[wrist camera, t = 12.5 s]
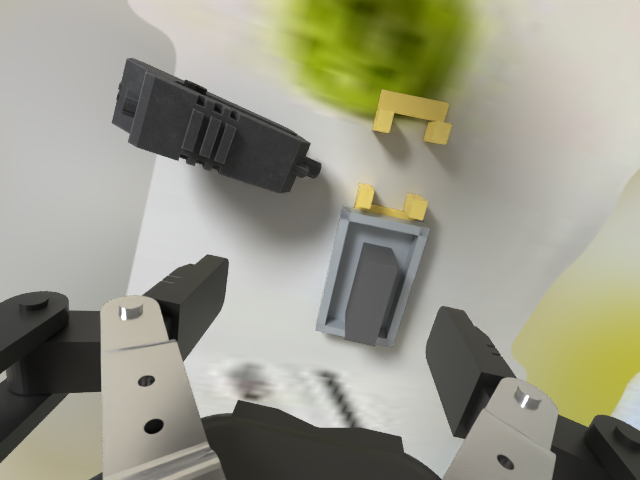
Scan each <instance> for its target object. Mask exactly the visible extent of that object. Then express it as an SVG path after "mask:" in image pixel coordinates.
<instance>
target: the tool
mask: <svg viewBox="0 0 640 480" xmlns="http://www.w3.org/2000/svg"><path fill="white" fill-rule="evenodd" d="M118 89H119V92H118V95H117V103H116V107H115V112H114V116H113V120H112V123H113V124H114V125H116V126H117V127H119V128H121V129H123V130H124V131H126V132H128V133H129V134H130V136H129V140H128V142H129V143H130V144H132V145H134V146H135V147H138V148H141V149H144V150H147V151H150V152H153V153H156V154H159V155H162V156H165V157H168V158H171V159H174V160H177V161H178V160H179V157H180V158H183V159H186V163H187V164H190V165H193V166H195V163H199V164H202V165H203V168H204V169H205V170H208V171H211V169H212V168H214V169H217V170H218V173H219V174H221V175H224V176H227V177H230V178H233V179H236V180H239V181H243V182H246V183H249V184H252V185H255V186H258V187H261V188H264V189H268V190H271V191H274V192H277V193H285V192H290V190H291V187H292V185H293V183H294V181H295V178H296V176H299V177H301V178H304V177H306V176H308V177H311V178H313V179H314V178H316V177H317V176H318V175H319V173H320V170H321V163H319V162H317V161H314V160H312V159H310V158H308V157H306V153H307V151H308V149H309V146H310V144H311V143H309V142H308V141H306V140H305V139H303V138H302V137H301V136H298V135H297V134H296V133H295V132H293V131H292V130H290V129H288V128H286V127H284V126H282V125H280V124H277V123H275V122H273V121H271V120H269V119H266V118H264V117H262V116H260V115H258V114H255V113H253V112H251V111H249V110H247V109H245V108H242V107H240V106H238V105H236V104H234V103H231V102H229V101H227V100H225V99H223V98H221V97H218V96H216V95H214V94H212V93H210V92H207V89H205V88H203V87H201V86H199V85H197V84H195V83H193V82H190V81H188V80H185V81H183V80H181V79H179V78H177V77H175V76H172V75H170V74H168V73H166V72H164V71H161V70H159V69H157V68H155V67H153V66H150V65H148V64H146V63H144V62H141V61H139V60H136V59H133V58H129V59H127V60H126V65H125V69H124V73H123V77H122V81H121V83H120V84H119V88H118Z"/></svg>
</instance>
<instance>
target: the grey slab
mask: <svg viewBox="0 0 640 480" xmlns="http://www.w3.org/2000/svg"><path fill="white" fill-rule="evenodd" d="M398 268H399V266H398V264H397V261H396V258H395V256H394V253H393V250H392V248H388V247H384V246H379V245H375V244H370V243H366V242H363V246H362V250H361V254H360V258H359V262H358V265H357V269H356V273H355V277H354V281H353V285H352V288H351V292H350V296H349V300H348V304H347V308H346V312H345V340H350V341H354V342H358V343H363V344H367V345H372V346H375V344H376V340H377V337H378V334H379V331H380V327H381V324H382V321H383V317H384V314H385V311H386V308H387V304H388V301H389V298H390V294H391V291H392V288H393V285H394V281H395V278H396V275H397V271H398Z"/></svg>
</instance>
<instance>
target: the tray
mask: <svg viewBox="0 0 640 480" xmlns="http://www.w3.org/2000/svg"><path fill="white" fill-rule="evenodd" d="M429 231H430V228H429V227H428V226H427V225H426V224H425V223H424V222H420V221H415V220H414V221H410V220H406V219H401V218H396V217H392V216H387V215H382V214H378V213H373V212H368V211H363V210H359V209H354V207H350V206H345V205H343V207H342V211H341V216H340V220H339V225H338V229H337V234H336V238H335V243H334V247H333V251H332V256H331V260H330V265H329V269H328V274H327V278H326V283H325V287H324V292H323V296H322V300H321V305H320V309H319V314H318V318H317V324H316V330H315V331H320V332H324V333H329V334H333V335H338V336H343V337H345V312H346V308H347V304H348V300H349V296H350V292H351V288H352V285H353V281H354V277H355V273H356V269H357V265H358V262H359V258H360V254H361V250H362V246H363V242H366V243H370V244H375V245H379V246H384V247H388V248H392V250H393V253H394V256H395V258H396V261H397V264H398V266H399V268H398V271H397V275H396V278H395V281H394V285H393V288H392V291H391V294H390V298H389V301H388V304H387V308H386V311H385V314H384V317H383V321H382V324H381V327H380V331H379V334H378V337H377V340H376V344H379V345H383V346H388V347H393V344H394V341H395V337H396V334H397V331H398V328H399V325H400V322H401V319H402V316H403V312H404V309H405V306H406V303H407V300H408V297H409V294H410V291H411V287H412V284H413V281H414V278H415V275H416V272H417V269H418V266H419V262H420V259H421V256H422V253H423V250H424V247H425V244H426V241H427V237H428V234H429Z"/></svg>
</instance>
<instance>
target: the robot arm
mask: <svg viewBox="0 0 640 480" xmlns="http://www.w3.org/2000/svg"><path fill="white" fill-rule="evenodd" d="M228 266H229V261H228V259H227V258H222V257H218V256H213V255H206V256H205V257H204V258H202V259H201V260H200V261H199V262H198V263H196V264H195V265H194V264H188V265H185V266H182V267H179V268H177V269H176V270H174V271H173V272H172V273H171V274H169V276H167V277H165V278H164V279H163V280H162V281H160V282H159V283H158V284H156V285H155V286H154V287H152V288H151V289H150V290H149V291H147V292H146V293H145V294H143V295H142V296H137V295H133V296H124V297H119V298H116V299H113V300H111V301H109V302H107V303H106V304H105V305H104V306H103V307H102V308H101V311H69V300H68V298H67V297H66V296H65V295H63V294H60V293H57V292H48V291H44V292H42V291H40V292H31V293H25V294H21V295H18V296H15V297H12V298H9V299H7V300H5V301H3V302H1V303H0V374H1V373H2V372H3V371H5V370H6V374H7V378H6V379H5V380H4V381H2V382H1V383H0V463H1V462H2V461H3V460H4V459H5V458H6V457H7V456H8V455H9V454H10V453H11V452H12V451H13V450H14V448H16V447H17V446H18V445H19V444H20V443H21V442H22V441H23V440H24V438H25V437H27V435H29V434H30V433H31V431H32V430H33V429H34V428H35V427H36V426H37V425H38V424H39V423H40V422H41V421H42V420H43V419H44V418H45V417H46V416H47V415H48V414H49V413H50V412H51V411H52V410H53V409H54V408H55V407H56V406H57V405H58V404H59V403H60V402H61V401H62V400H63V399H64V398H65V397H66V396H67V395H68V394H69V393H81V392H101V393H102V455H103V456H102V458H103V459H102V460H103V472H102V473H100V474H98V475H97V476H95V477H93V478H91V479H89V480H640V431H639V430H637V429H636V428H634V427H632V426H631V425H629V424H627V423H625V422H623V421H621V420H619V419H616V418H613V417H610V416H606V415H597V416H595V418H594V419H593V421H592V422H591V424H590V425H589V427H586V426H584V425H581V424H579V423H577V422H574V421H572V420H570V419H567V418H565V417H562V416H560V415H558V408H557V406H556V405H555V403H554V402H553V401H552V400H551V398H549V397H548V396H547V395H546V394H545V393H544V392H543V391H541V390H540V389H538V388H537V387H535V386H533V385H531V384H530V383H528V382H525V381H523V380H520V379H517V378H516V376H515V375H514V373H513V372H512V370H511V369H510V368H509V366H508V365H507V363H506V362H505V360H504V359H503V357H501V356H500V353H499V352H498V350H497V349H496V348H495V346H494V344H493V343H492V341H491V340H490V339H489V337H488V336H487V335H486V334H484V333H483V332H482V331H481V330H480V329H479V328H477V327H475V326H474V325H473V323H472V322H471V320H470V319H469V317H468V316H467V314H466V313H465V312H464V311H463V310H459V309H454V308H450V307H445V306H442V307H441V308H440V309H439V311H438V313H437V316H436V318H435V321H434V324H433V327H432V330H431V332H430V335H429V338H428V341H427V345H426V359H427V362H428V365H429V368H430V371H431V374H432V377H433V379H434V382H435V385H436V388H437V391H438V394H439V397H440V400H441V403H442V405H443V408H444V411H445V414H446V417H447V420H448V423H449V426H450V428H451V431H452V434H453V436H454V437H458V438H463V439H465V440H464V442H463V444H462V446H461V447H460V449H459V451H458V453H457V454H456V456H455V458H454V460H453V461H452V463H451V465H450V466H449V468H448V470H447V472H446V473H445V475H444V477H443V479H441V478H440V477H439V476H438V475H437V474H435V473H434V472H433V471H432V470H431V469H430V468H428V467H427V466H426V465H424V464H423V463H421V462H420V461H419V460H417V459H415V458H414V457H412V456H410V455H408V454H406V453H404V450H403V444H402V438H401V437H400V436H395V435H391V434H386V433H382V432H378V431H373V430H369V429H364V428H319V427H315V426H313V425H311V424H309V423H307V422H305V421H302V420H300V419H298V418H296V417H294V416H292V415H290V414H288V413H285V412H283V411H281V410H279V409H276V408H272V407H267V406H263V405H258V404H254V403H249V402H245V401H241V400H238V401H237V404H236V406H235V409H234V411H233V413H225V414H216V415H211V416H207V417H204V418H201V419H200V415H199V412H198V409H197V406H196V402H195V399H194V396H193V393H192V389H191V386H190V383H189V380H188V376H187V373H186V370H185V367H184V363H183V362H184V360H185V359H186V358H187V356H188V355H189V354H190V352H191V351H192V349H193V348H194V347H195V345H196V344H197V343H198V341H199V340H200V338H201V337H202V336H203V334H204V333H205V332H206V330H207V329H208V328H209V326H210V325H211V323H212V322H213V321H214V319H215V318H216V317H217V315H218V314H219V312H220V311H221V309H222V306H223V303H224V299H225V292H226V283H227V275H228Z"/></svg>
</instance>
